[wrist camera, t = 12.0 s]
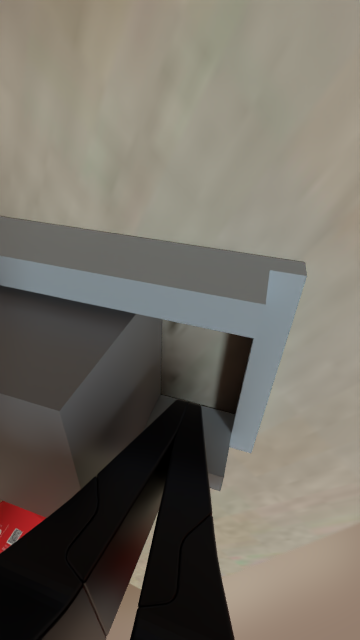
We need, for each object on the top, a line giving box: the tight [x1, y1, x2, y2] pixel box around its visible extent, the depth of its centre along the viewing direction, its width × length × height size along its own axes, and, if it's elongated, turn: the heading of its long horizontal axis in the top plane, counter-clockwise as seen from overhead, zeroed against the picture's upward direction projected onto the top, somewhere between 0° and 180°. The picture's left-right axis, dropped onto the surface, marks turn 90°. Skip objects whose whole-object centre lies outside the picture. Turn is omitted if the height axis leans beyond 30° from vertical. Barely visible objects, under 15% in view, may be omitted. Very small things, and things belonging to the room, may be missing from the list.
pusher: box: [0, 285, 162, 518], centre depth 10 cm, size 5×6×6 cm
